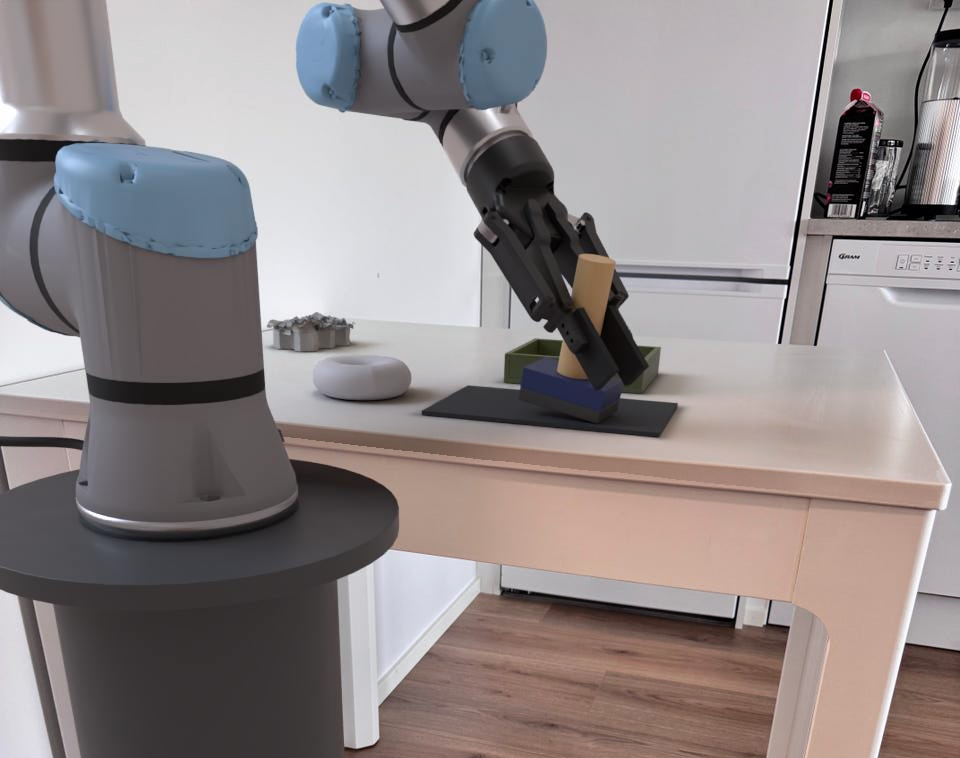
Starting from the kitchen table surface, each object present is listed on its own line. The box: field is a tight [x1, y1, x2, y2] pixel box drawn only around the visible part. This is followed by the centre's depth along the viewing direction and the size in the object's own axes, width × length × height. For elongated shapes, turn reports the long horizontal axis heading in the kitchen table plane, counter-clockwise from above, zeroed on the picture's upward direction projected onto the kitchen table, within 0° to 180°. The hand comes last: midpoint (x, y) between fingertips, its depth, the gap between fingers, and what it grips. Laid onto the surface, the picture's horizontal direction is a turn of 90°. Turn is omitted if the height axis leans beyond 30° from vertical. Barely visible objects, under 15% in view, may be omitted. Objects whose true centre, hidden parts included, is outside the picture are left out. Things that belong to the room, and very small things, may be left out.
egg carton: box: [266, 311, 356, 353], centre depth 124 cm, size 11×8×4 cm
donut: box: [311, 354, 413, 401], centre depth 96 cm, size 10×4×10 cm
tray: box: [503, 337, 662, 395], centre depth 107 cm, size 15×13×3 cm
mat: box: [421, 385, 679, 438], centre depth 91 cm, size 22×14×1 cm, turn 73°
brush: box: [518, 254, 623, 424], centre depth 84 cm, size 8×5×13 cm, turn 62°
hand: (621, 377), depth 82 cm, fingers closed on brush, 3 cm apart
